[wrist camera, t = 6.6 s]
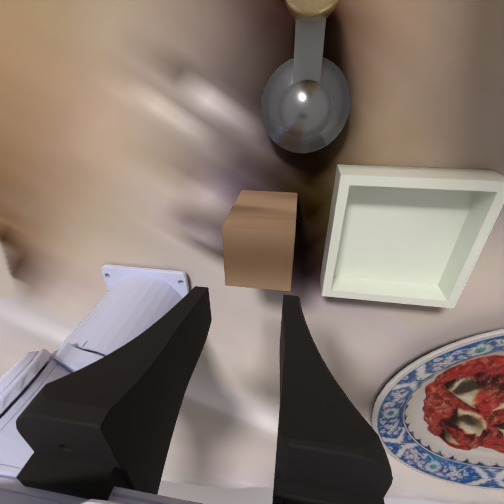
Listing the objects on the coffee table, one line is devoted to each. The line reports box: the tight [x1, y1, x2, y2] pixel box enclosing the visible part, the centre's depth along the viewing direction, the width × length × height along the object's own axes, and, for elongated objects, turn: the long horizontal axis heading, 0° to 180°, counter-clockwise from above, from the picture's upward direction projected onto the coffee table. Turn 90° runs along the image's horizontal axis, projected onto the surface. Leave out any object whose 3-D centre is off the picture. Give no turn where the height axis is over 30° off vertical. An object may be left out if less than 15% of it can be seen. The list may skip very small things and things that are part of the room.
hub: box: [261, 57, 351, 153], centre depth 17 cm, size 5×5×1 cm
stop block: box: [222, 190, 297, 291], centre depth 19 cm, size 4×4×6 cm
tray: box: [320, 164, 504, 308], centre depth 20 cm, size 9×9×2 cm
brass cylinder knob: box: [278, 0, 339, 139], centre depth 13 cm, size 8×3×4 cm, turn 1°
